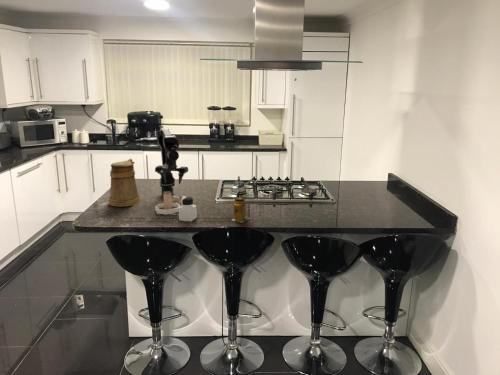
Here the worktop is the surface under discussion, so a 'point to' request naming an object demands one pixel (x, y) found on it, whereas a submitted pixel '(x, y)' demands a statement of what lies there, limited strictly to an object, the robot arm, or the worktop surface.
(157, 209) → the dish
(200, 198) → the worktop surface
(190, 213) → the medicine bottle
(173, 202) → the parts tray
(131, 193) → the tankard
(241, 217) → the condiment
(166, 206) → the spice jar
